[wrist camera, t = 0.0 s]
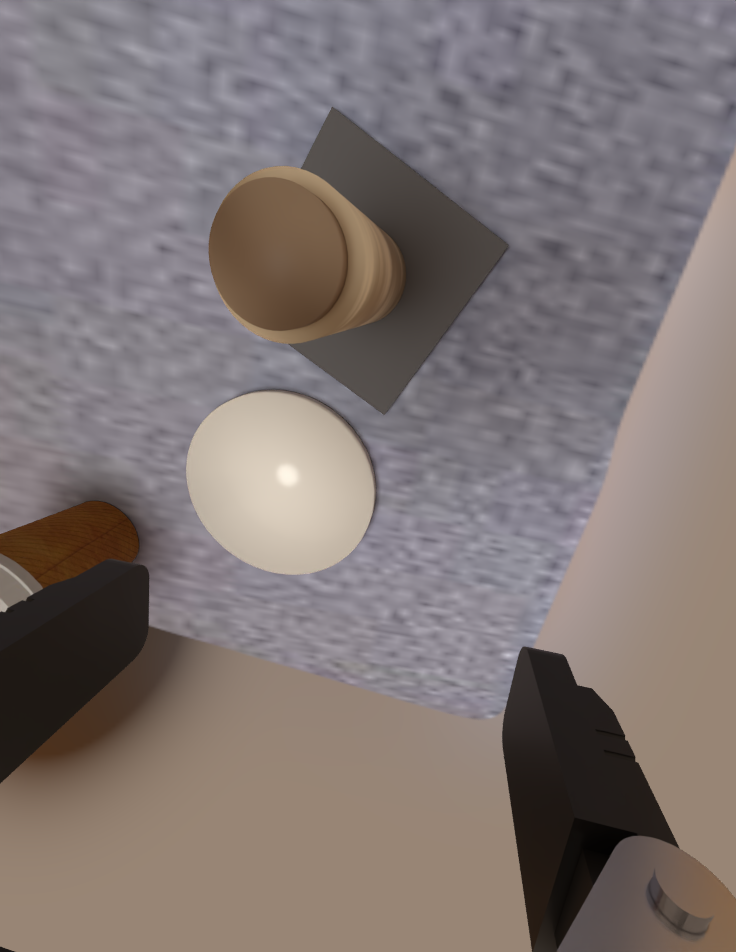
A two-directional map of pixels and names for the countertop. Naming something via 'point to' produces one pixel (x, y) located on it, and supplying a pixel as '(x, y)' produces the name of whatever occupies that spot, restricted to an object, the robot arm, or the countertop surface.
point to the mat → (425, 255)
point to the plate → (281, 481)
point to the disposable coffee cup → (62, 548)
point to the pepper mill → (301, 258)
